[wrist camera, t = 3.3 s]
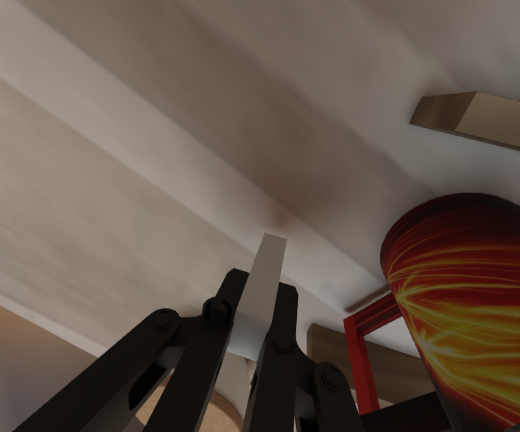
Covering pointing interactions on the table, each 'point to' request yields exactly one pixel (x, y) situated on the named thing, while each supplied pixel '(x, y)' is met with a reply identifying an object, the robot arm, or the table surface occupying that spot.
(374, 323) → the mug
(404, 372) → the trap lane
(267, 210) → the table surface
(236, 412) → the lidded jar
